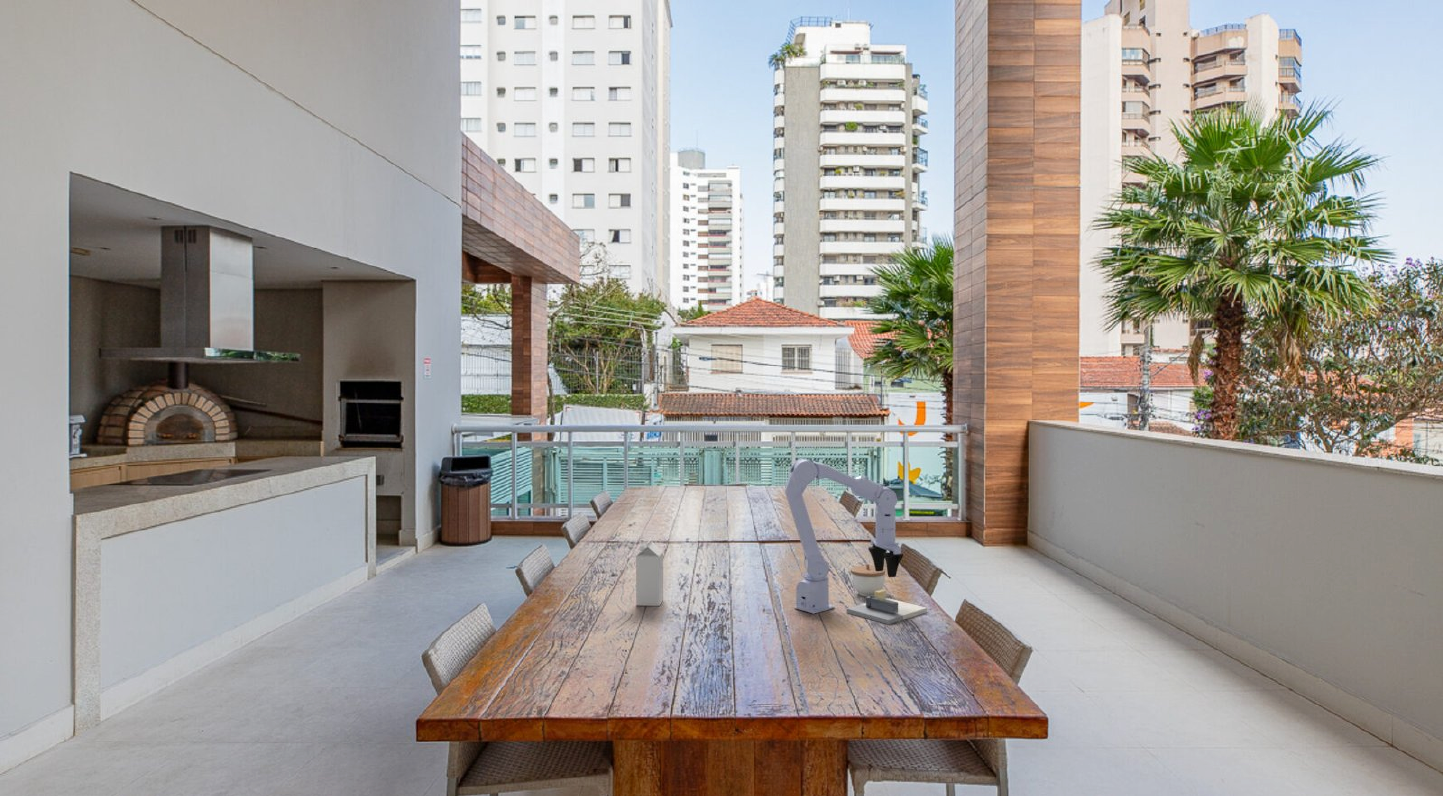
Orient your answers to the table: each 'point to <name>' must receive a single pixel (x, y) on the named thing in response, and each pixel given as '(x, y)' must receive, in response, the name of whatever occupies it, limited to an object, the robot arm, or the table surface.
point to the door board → (885, 617)
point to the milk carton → (649, 575)
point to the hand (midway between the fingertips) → (885, 573)
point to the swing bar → (882, 604)
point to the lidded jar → (867, 579)
